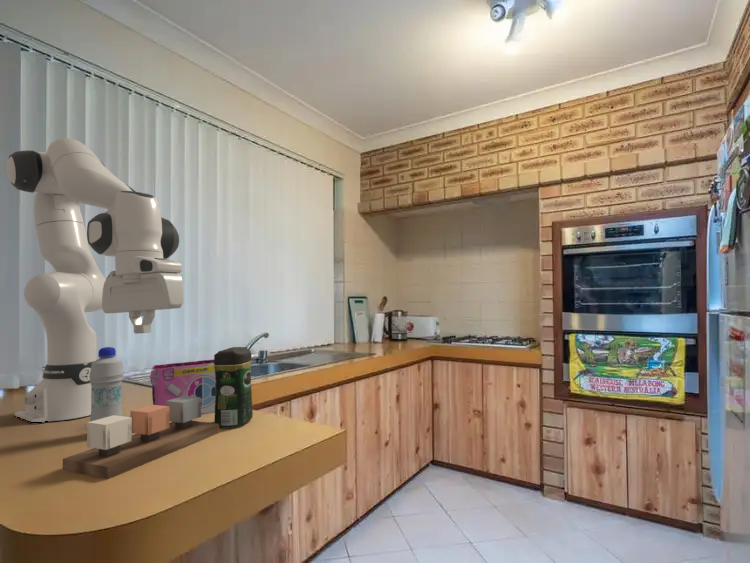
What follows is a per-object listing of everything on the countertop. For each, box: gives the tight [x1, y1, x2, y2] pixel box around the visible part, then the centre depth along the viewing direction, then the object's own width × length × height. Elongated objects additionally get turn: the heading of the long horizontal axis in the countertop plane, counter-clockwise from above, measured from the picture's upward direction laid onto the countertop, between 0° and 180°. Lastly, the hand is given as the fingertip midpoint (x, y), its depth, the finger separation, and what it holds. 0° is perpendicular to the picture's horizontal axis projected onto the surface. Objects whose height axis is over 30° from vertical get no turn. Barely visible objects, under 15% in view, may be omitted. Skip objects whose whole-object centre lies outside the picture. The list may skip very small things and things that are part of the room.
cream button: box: [86, 415, 133, 450], centre depth 76 cm, size 5×5×4 cm
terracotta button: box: [129, 404, 170, 435], centre depth 84 cm, size 5×5×4 cm
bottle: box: [89, 346, 124, 422], centre depth 95 cm, size 7×7×20 cm
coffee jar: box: [213, 346, 254, 429], centre depth 101 cm, size 10×8×19 cm
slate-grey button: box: [166, 396, 202, 423], centre depth 92 cm, size 5×5×4 cm
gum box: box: [149, 358, 216, 415], centre depth 113 cm, size 24×8×14 cm, turn 127°
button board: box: [62, 420, 220, 480], centre depth 84 cm, size 12×26×6 cm, turn 158°
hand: (142, 333), depth 85 cm, fingers closed
